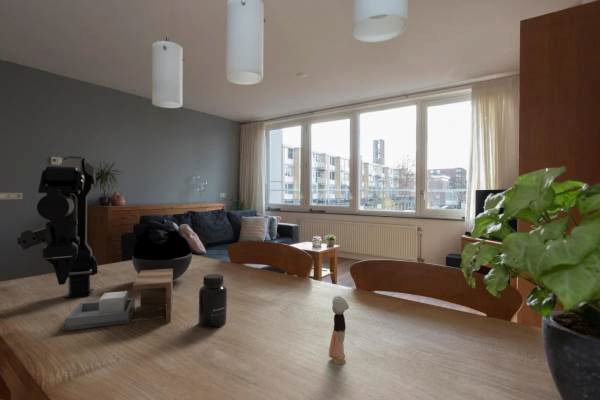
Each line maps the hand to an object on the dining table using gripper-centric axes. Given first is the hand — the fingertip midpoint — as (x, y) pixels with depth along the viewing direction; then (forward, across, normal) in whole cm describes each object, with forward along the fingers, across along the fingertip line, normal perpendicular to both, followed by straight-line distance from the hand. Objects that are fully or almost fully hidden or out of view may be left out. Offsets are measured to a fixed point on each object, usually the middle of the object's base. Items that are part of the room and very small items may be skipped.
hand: (63, 279), depth 79 cm
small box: (+10, +3, +11) cm, 15 cm away
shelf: (+11, +5, +20) cm, 23 cm away
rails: (+11, +3, +12) cm, 17 cm away
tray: (+11, +2, +8) cm, 14 cm away
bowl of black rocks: (+11, -26, +28) cm, 39 cm away
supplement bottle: (+11, +19, +31) cm, 38 cm away
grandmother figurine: (+11, +50, +47) cm, 69 cm away
